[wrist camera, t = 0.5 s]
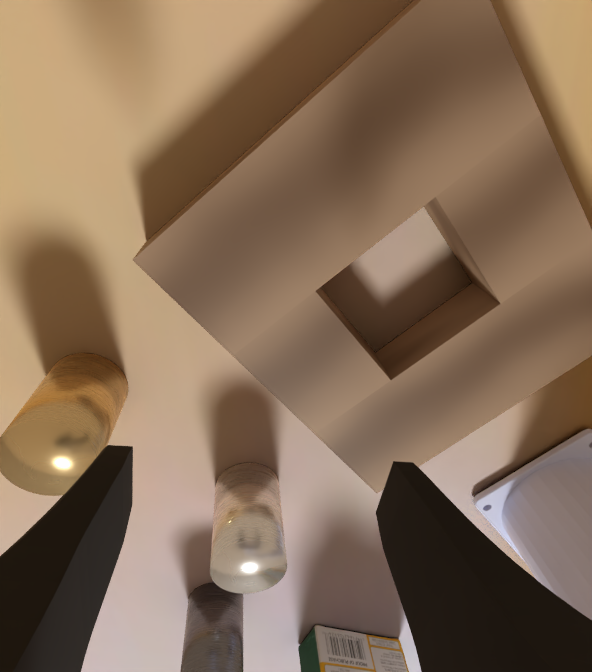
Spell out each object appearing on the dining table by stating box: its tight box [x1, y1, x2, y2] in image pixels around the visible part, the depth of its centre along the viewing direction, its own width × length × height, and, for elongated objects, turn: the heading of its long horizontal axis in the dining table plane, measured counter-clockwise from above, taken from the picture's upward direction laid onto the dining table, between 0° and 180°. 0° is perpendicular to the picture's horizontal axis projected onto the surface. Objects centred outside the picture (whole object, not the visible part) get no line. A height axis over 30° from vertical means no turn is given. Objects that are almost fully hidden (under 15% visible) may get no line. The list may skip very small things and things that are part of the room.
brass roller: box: [0, 353, 128, 496], centre depth 18 cm, size 4×4×5 cm
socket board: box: [133, 0, 592, 493], centre depth 19 cm, size 16×14×2 cm
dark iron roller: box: [181, 582, 243, 672], centre depth 26 cm, size 4×4×5 cm
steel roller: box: [210, 463, 287, 594], centre depth 22 cm, size 4×4×5 cm
